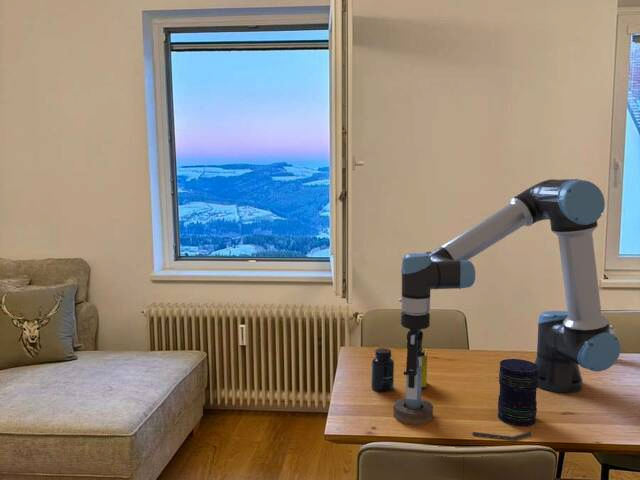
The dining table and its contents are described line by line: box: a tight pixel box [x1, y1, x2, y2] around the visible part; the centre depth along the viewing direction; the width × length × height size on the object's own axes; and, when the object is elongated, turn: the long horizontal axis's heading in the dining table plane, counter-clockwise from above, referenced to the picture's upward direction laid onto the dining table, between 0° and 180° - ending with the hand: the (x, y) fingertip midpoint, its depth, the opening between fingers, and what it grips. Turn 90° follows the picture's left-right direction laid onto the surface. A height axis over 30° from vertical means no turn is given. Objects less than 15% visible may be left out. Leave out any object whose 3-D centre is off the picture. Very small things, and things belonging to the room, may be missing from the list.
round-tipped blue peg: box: [406, 359, 422, 410], centre depth 143 cm, size 4×4×16 cm
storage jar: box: [497, 358, 539, 428], centre depth 142 cm, size 10×10×15 cm
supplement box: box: [420, 348, 428, 390], centre depth 165 cm, size 6×6×11 cm
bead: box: [393, 397, 434, 426], centre depth 144 cm, size 10×10×3 cm
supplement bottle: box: [370, 347, 395, 393], centre depth 162 cm, size 7×7×12 cm
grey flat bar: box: [472, 431, 533, 441], centre depth 133 cm, size 14×4×1 cm, turn 75°
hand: (413, 388), depth 143 cm, fingers open, 13 cm apart
